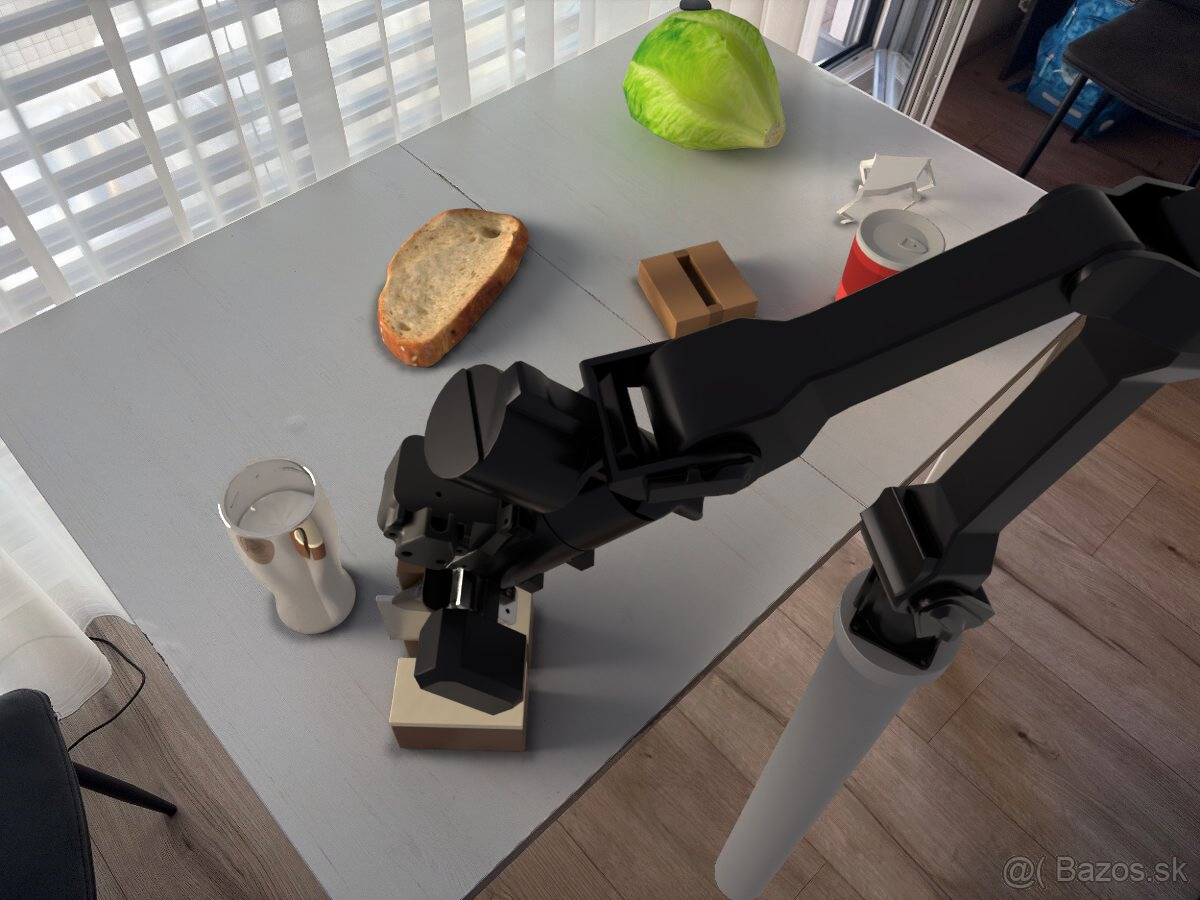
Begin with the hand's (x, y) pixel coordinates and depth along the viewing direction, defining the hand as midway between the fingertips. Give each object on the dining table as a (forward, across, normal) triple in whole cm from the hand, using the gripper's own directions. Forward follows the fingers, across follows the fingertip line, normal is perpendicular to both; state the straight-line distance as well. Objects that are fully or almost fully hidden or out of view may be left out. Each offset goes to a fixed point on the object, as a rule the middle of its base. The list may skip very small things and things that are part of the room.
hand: (399, 590), depth 62 cm
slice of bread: (+11, -41, +8) cm, 43 cm away
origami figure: (-20, -55, +39) cm, 70 cm away
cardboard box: (-6, -40, +25) cm, 48 cm away
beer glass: (+16, -6, +3) cm, 18 cm away
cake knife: (+4, 0, +6) cm, 7 cm away
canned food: (-18, -38, +37) cm, 56 cm away
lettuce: (-7, -67, +26) cm, 72 cm away
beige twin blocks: (+7, 0, +12) cm, 14 cm away
